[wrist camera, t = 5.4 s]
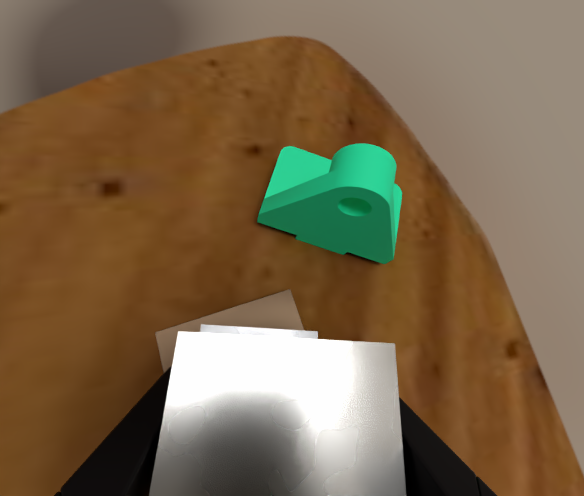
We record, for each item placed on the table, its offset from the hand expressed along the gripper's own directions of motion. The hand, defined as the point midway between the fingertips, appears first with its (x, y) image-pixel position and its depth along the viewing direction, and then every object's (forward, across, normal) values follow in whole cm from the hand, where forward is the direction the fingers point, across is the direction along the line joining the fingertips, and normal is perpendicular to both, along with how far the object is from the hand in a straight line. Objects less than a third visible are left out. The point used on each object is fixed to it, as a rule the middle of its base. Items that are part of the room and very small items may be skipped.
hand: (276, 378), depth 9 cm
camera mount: (+19, -6, 0) cm, 20 cm away
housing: (+4, 0, +6) cm, 7 cm away
